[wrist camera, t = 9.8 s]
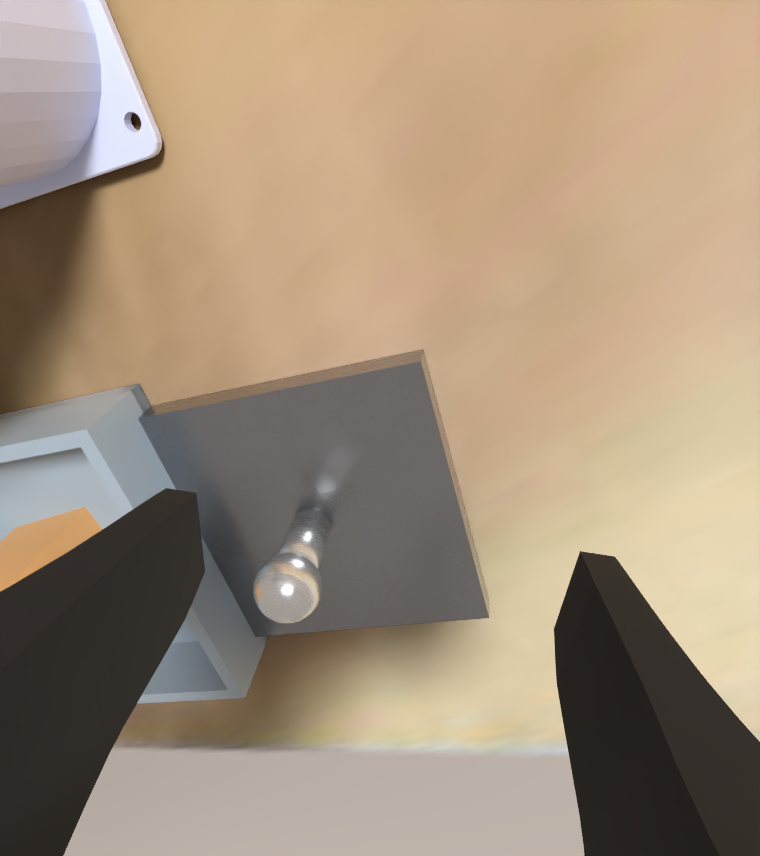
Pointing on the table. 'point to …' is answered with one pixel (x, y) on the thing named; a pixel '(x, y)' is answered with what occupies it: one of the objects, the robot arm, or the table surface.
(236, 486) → the stud plate
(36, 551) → the orange rectangular block
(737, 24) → the table surface
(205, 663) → the slate bin
